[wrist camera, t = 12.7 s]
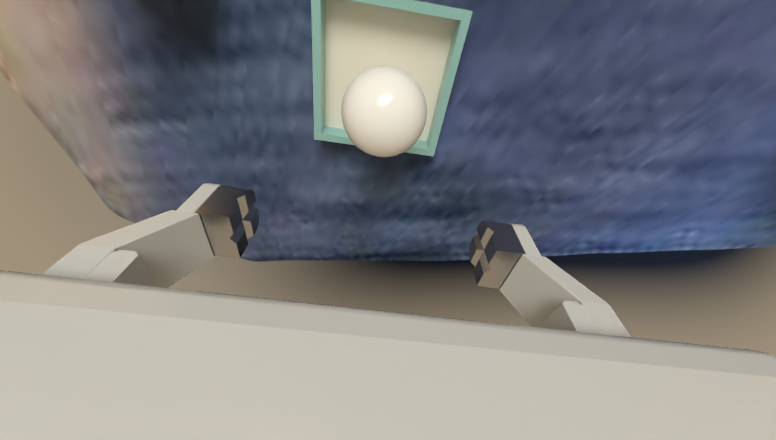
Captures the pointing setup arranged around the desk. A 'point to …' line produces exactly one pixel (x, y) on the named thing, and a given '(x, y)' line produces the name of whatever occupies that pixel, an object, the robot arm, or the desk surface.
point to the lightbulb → (384, 111)
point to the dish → (384, 56)
